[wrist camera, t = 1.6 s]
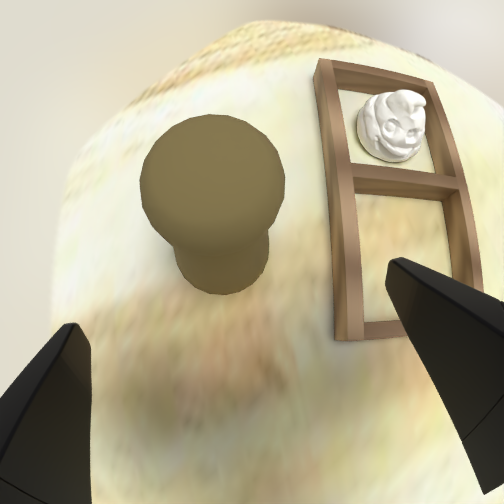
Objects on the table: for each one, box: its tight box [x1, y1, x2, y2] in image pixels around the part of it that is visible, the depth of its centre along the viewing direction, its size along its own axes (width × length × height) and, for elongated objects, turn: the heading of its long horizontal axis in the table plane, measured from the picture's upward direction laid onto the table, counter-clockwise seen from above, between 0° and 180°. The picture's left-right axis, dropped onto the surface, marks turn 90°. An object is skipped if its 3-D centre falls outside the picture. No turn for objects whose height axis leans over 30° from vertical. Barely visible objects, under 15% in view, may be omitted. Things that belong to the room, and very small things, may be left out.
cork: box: [140, 114, 285, 295], centre depth 15 cm, size 6×6×11 cm
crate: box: [313, 58, 484, 341], centre depth 21 cm, size 21×11×2 cm, turn 0°
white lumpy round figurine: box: [357, 90, 426, 162], centre depth 20 cm, size 6×6×5 cm
